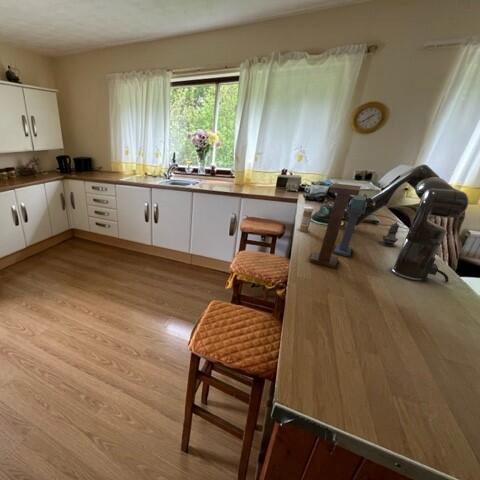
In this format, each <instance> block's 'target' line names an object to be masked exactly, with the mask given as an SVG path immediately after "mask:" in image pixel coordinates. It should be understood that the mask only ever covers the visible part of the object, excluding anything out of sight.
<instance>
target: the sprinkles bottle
mask: <svg viewBox="0 0 480 480" xmlns="http://www.w3.org/2000/svg"><path fill="white" fill-rule="evenodd" d="M313 212H314V207H313V206H304V207H303V211H302V216H301V220H300V225H299V228H298V230H299V231H300V232H302V233H303V232H304V233H306V232H308V231H309V228H310V224H311V216H312V215H313Z"/></svg>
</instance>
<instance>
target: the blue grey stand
mask: <svg viewBox="0 0 480 480" xmlns="http://www.w3.org/2000/svg"><path fill="white" fill-rule="evenodd" d="M351 202H352V200H350V203H349V206H348V209H347V211H348V212H351V213H350V216H349V220H348V222H347V223H346V226H345V229H344V233H343V236H342V238H341V242H340V244H337V243H336V244H335V247H334V248H335V249H334V250H333V254H335V255H339V256H342V257H343V256H344V257H347V258H350V257H351V254H352V250H353V249H352V247H351V246H350V243H351V240H352V237H353V234H354V231H355V229H356V226H355V225H356V222H357V219H358V216H359V213H361V214H364V213H365V210H366V207H367V202H365V204H364V206H363V209H362V210H359V209H353V208H351V205H352V204H351Z"/></svg>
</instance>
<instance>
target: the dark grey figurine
mask: <svg viewBox="0 0 480 480" xmlns="http://www.w3.org/2000/svg"><path fill="white" fill-rule="evenodd" d="M399 227H400V225H399V224H398V222H397V221H395V223H392V224H391V225H390V228H389V229H388V232H387V234H385V235H382V242H380V244H381V245H382V246H385V247H389V248H395V244H396V242H398V240H399V239H398V238H397V233H398V232H399V231H398V230H399Z"/></svg>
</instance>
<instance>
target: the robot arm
mask: <svg viewBox="0 0 480 480" xmlns="http://www.w3.org/2000/svg"><path fill="white" fill-rule="evenodd" d="M405 183H407V184H408V185H409V186H410V187H411V188H412V189H413V190H414V191H415V195H416V196H417V198H419V199H420V200H419V203H418V205H417V209H416V211H415V214H414V217H413V219H412V222H411V224H410V227H409V230H408V232H407V234H406V236H405V239H404V241H403V243H402V247H401V249H400V251H399V253H398V256H397V258H396V260H395V262H394V265H393V267H392V269H391V272H392V273H394V274H395V275H397V276H399V277H401V278H403V279H407V280H410V281H411V280H412V281H418V282H419V281H420V282H426V280H427V278H428V275H432V276H437V274H438V273H439V274H440V275H442V276H443V277H444V281H445V283H449V282H450V279H449V276H448V275H447V274H446V273H445V272H444V271H442V270H440V269H439V267H438V265H437V264H436V263H435V262H436V260H437V259H436V255H437V253H438V251H439V249H440V247H441V244H442V242H443V240H444V238H445V236H446V234H447V229H446V228H445V227H443V226H442V225H440V224H437V223H435V222H433V221H431V220H430V219H429V217H430V216H431V217H440V218H448V219H449V218H450V219H453V218H457V217H460V216H461V215H463V214H464V213H465V212H466V211H467V209H468V207H469V201H470V200H469V197H468V195H467V193H466V192H464V191H463V190H459V189H457V188H455V187H454V186H452V185H451V184H449V182H447V181H446V180H445V179H444V178H441V177H440V175H438V174H437V172H435V171H434V170H433V169H432V168H431V167H430V166H429V165H427V164H420V165H418V166H415V167H414V168H412V169H410V170H409V171H407V172H406V173H404V174H402V176H400V177H399V178H397V179H396V180H394V181H393V182H392V183H391V184H389V185H388V186H386V187H385V188H383V190H381V191H379V192H378V193H377V194H375V195H374V196H371V197H368V195H366V193H365V194H364V193H363V196H366V199H365V202H367V207H366V210H365V213H364V214H361V213H359V216H358V219H357V222H356V225H355V227H357V226H359V225H360V224H362V223H363V222H364V221H365V220H366V219H367V218H368V217H370V215H373V214H374V213H375V212H377V211H379V210H381V209H382V208H385V207H386V206H387V205H388V204H389V203H390V202H391V200H392V199H393V197H394V195H395V193H396V192H397V191H398V190H399V188H400V187H401V186H403V185H404V184H405ZM354 196H355V195H350V196H349V199H348V203H347V206H346V209H345V212H344V216H343V218H344V219H345V221H346V222H347V223H348V220H349V216H350V213H351V212H348V211H347V209H348V206H349V203H350V200H352V202H353V199H354ZM352 202H351V204H352ZM364 204H365V203H364Z"/></svg>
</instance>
